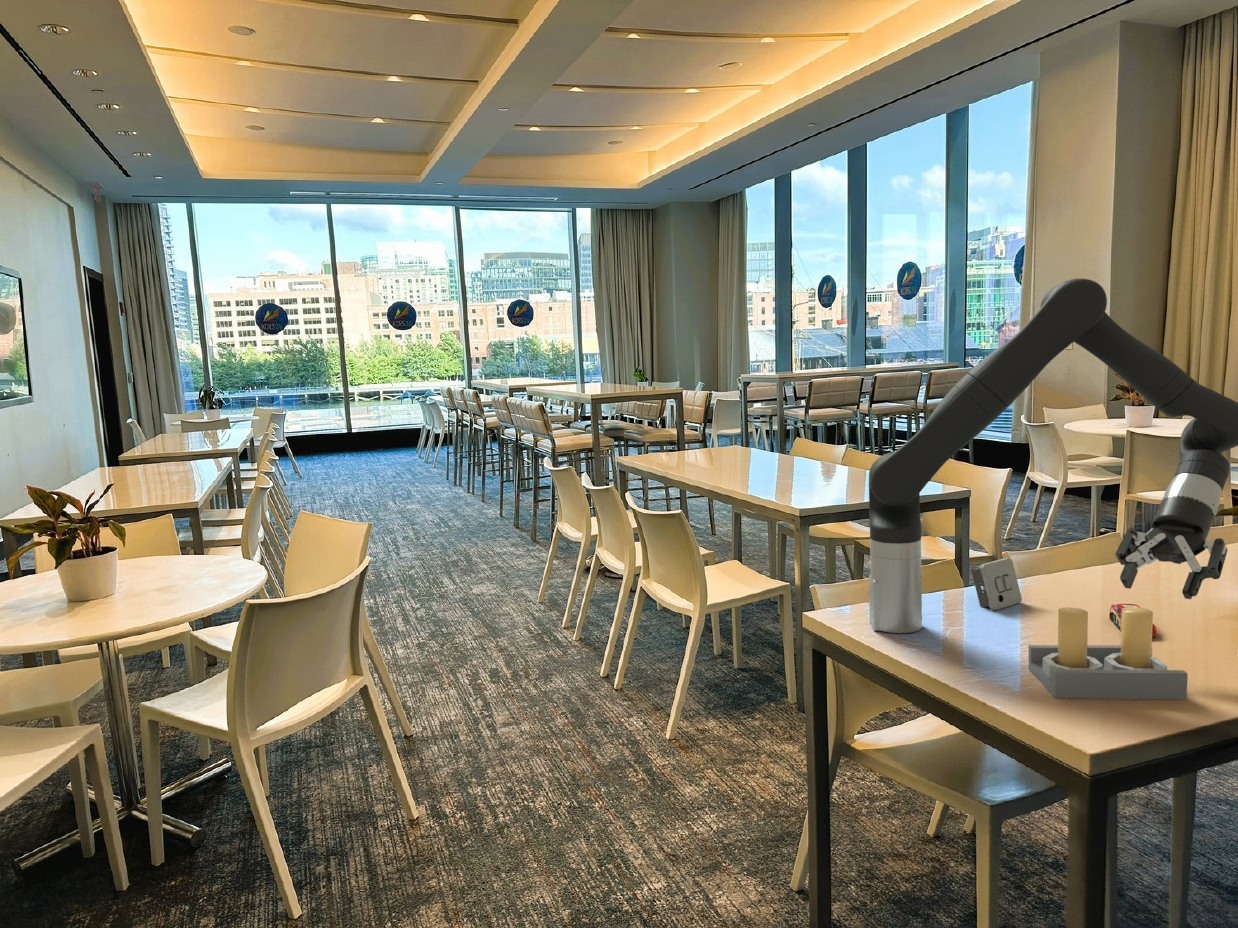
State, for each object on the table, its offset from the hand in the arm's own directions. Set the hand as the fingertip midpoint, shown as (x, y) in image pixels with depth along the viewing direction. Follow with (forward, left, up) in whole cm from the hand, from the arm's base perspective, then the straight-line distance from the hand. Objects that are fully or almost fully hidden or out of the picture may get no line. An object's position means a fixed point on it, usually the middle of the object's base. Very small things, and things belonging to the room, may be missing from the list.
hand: (1155, 590), depth 131 cm
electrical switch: (-13, +38, -14) cm, 42 cm away
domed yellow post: (-5, -4, -12) cm, 13 cm away
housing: (-9, -4, -13) cm, 17 cm away
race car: (+6, +23, -14) cm, 27 cm away
